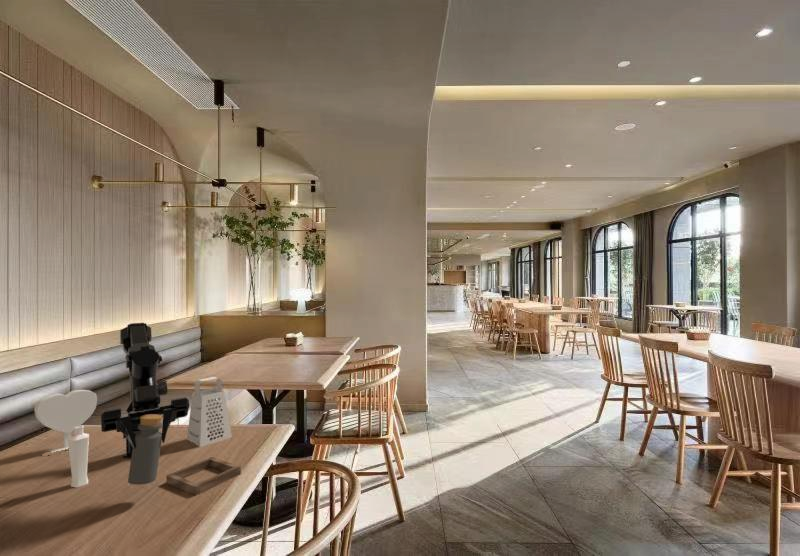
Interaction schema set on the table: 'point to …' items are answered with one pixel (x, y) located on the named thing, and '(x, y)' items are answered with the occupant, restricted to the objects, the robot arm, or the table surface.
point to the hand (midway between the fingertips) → (149, 444)
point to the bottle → (146, 450)
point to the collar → (191, 487)
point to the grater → (208, 415)
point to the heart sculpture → (65, 411)
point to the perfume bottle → (79, 457)
